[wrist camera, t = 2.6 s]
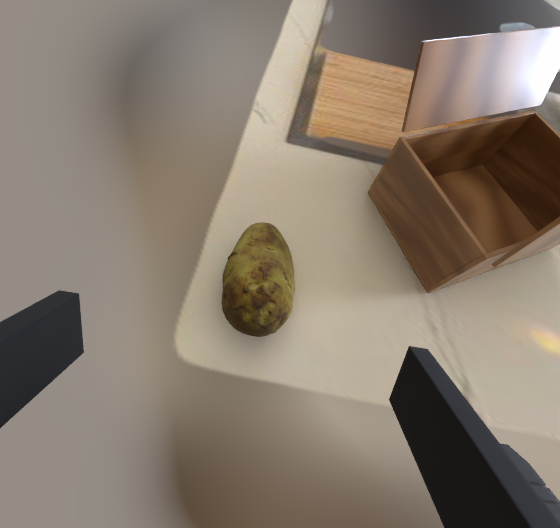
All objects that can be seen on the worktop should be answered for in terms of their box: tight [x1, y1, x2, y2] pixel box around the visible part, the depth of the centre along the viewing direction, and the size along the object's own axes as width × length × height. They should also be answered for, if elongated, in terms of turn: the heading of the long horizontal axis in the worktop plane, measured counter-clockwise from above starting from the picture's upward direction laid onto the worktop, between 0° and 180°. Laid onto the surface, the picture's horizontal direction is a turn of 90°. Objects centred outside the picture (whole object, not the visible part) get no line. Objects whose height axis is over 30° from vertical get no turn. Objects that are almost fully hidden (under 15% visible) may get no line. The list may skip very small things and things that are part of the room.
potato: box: [222, 223, 295, 337], centre depth 29 cm, size 8×13×8 cm, turn 157°
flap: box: [402, 26, 560, 132], centre depth 31 cm, size 21×8×1 cm
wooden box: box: [368, 110, 560, 293], centre depth 32 cm, size 21×17×17 cm
